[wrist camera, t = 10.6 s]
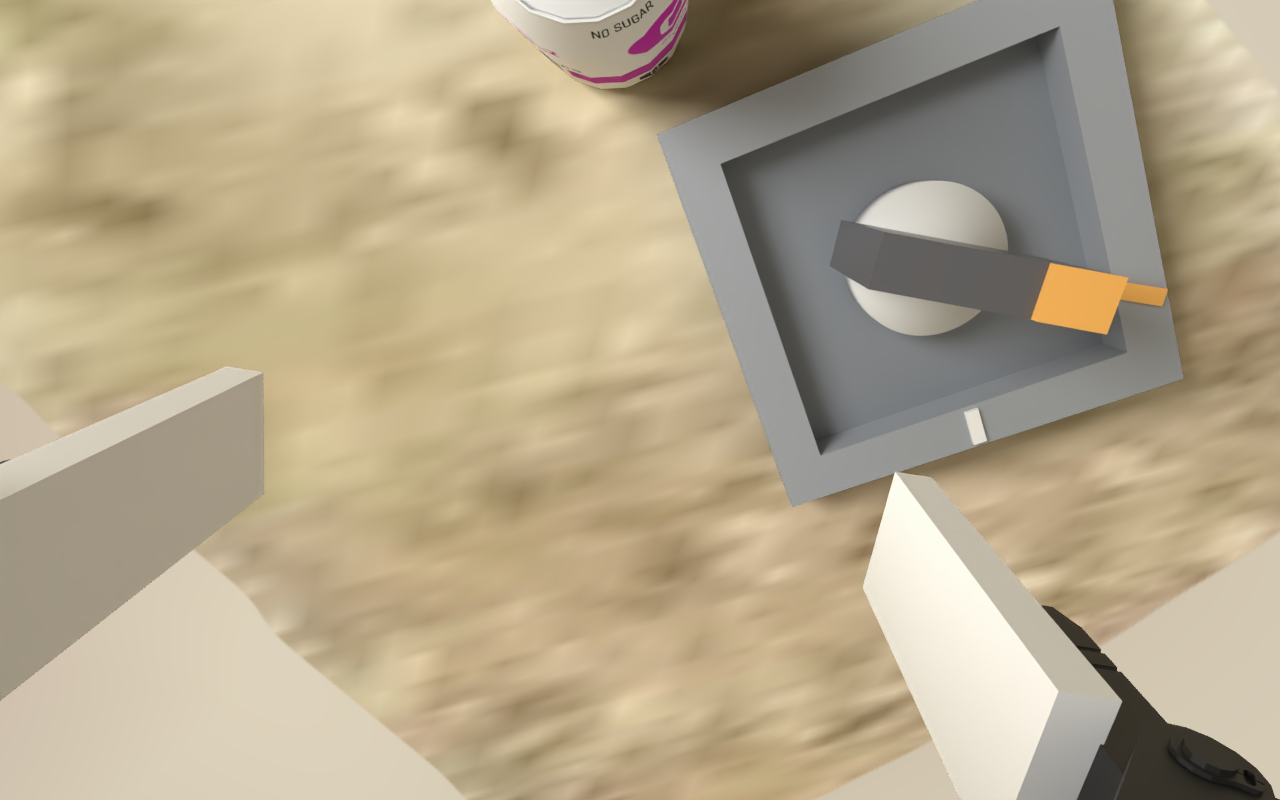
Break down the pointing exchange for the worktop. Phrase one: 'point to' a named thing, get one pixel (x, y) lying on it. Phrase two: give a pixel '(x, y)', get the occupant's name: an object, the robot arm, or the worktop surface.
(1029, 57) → the dial panel
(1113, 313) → the dial
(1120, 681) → the robot arm
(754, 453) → the worktop surface
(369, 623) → the worktop surface
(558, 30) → the supplement can
